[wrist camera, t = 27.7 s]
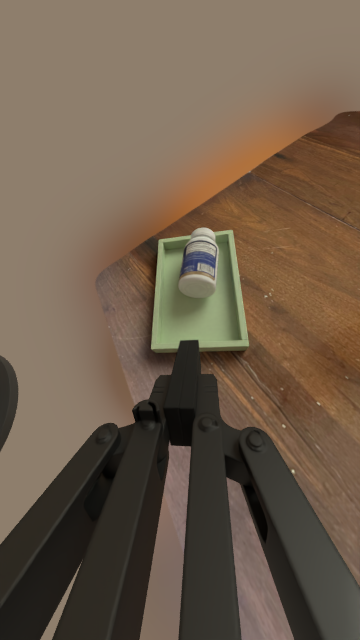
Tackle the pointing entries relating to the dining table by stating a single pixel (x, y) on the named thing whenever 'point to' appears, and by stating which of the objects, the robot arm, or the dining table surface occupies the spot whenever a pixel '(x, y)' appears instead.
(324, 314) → the dining table surface
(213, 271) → the pill bottle
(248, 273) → the dining table surface
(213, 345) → the tray
